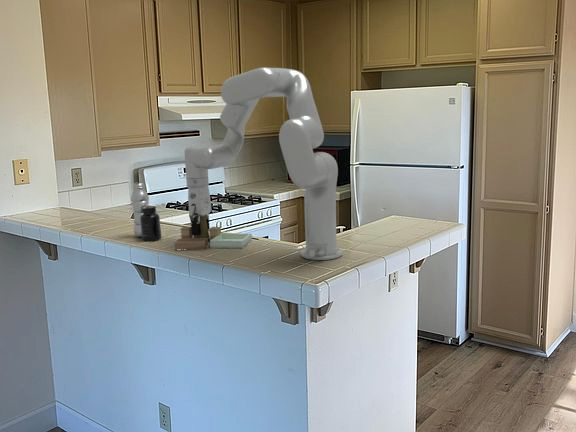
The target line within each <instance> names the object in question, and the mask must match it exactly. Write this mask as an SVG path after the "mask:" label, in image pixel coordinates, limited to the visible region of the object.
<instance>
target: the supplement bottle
mask: <svg viewBox="0 0 576 432" xmlns="http://www.w3.org/2000/svg"><path fill="white" fill-rule="evenodd" d="M142 213H143V215H141V217H140V222H141V232H142V237H141V238H142V241H143V240H144V241H143V242H147V241H149V242H155V241H154V240H157V241H159V239H160V240H161V239H162V229H161V220H160V219H161V218H160V214H158V213H157V208H156V206H155V205H148V206H146V207H142Z"/></svg>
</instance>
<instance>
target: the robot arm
mask: <svg viewBox="0 0 576 432" xmlns="http://www.w3.org/2000/svg"><path fill="white" fill-rule="evenodd" d="M220 97H221V98H222V100H223V102H224V103H225V106H224V108H223V109H222V112H221V114H220V116H219V119H220V121H221V123H222V124H223V125H224V126H225V127H226V128H227V131H226V135H225V136H224V138H223V140H222V142H221V144H217V145H209V146H202V145H201V146H200V145H196V146H195V145H194V146H193V145H192V146H187V147H185V148H184V151H183V152H184V165H185V180H186V181H185V182H186V188H187V190H188V192H187V200H188V217H189V220H190V227H191V229H192V235H201V224H199V222H200V215H201V216H204V215H206V214H207V219H206V222H207V227H208V231H210V228H211V227H210V215H209V214H210V213H211V212H212V203H211V194H210V189H209V188H210V187H209V186H210V185H209V184H210V182H209V171H208V170H214V169H219V168H223V167H228V166H230V165H231V164H233V162H234V161H235V160H236V158H237V157H238V155H239V153H240V151H241V149H242V147H243V145H244V140H245V131H244V129H245V126H246V124H247V123H248V121H249V119H250V117H251V115H252V113H253V111H254V110H255V108H256V106H257V104H258V103H259V101H260V99H262V98H276V97H277V98H279V97H285V98H286V111H287V114H288V117H289V119H287V120H286V121H285V122H284V123H283V124H282V125H281V127H280V129H279V133H278V141H279V145H280V149H281V150H280V151H281V153H282V156H283V159H284V162H285V166H286V169H287V172H288V175H289V178H290V179H291V181H292V183H293V184H294V185H295V186H296V187H299V188H300V189H304V191H305V192H304V228H305V230H304V231H305V233H304V234H305V248H304V249H302V250H301V251H300V256H301V257H302V258H304V259H307V260H312V261H326V260H329V261H330V260H334V259H337V258H339V257H341V256H342V255H343V251H342V250H341V249H340V248H338V244H337V241H338V240H337V195H336V194H337V182H338V177H339V167H338V162H337V161H336V159H335V158H334V156H333V155H331V154H329V153H327V152H323V151H317V152H314V150H313V149H316V148H318V147H320V146H321V145H322V144H323V142H324V138H325V133H324V129H323V126H322V122H321V119H320V115H319V113H318V109H317V105H316V102H315V99H314V96H313V92H312V87H311V84H310V82H309V79H308V78H307V77H306V76H305V74H304V73H302V72H301V71H299V70H296V69H292V68H284V67H282V68H281V67H268V66H267V67H259V68H254V69H251V70H248V71H246V72H242V73H239V74H237V75H234V76H231V77H229V78H227V79H226V80H225V81H224V82H223V84H222V85H221V89H220ZM194 214H198V215H194ZM196 217H197V219H196Z"/></svg>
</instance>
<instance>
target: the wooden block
mask: <svg viewBox="0 0 576 432" xmlns="http://www.w3.org/2000/svg"><path fill="white" fill-rule="evenodd" d="M207 246H208V247H209V242H208V238H187V239H182V238H178V239H177V240H176V241H175V242H174V251H175V250H177V249H181V251H205V250H206V249H207V248H208V247H207ZM182 249H183V250H182ZM184 249H186V250H184Z"/></svg>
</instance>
